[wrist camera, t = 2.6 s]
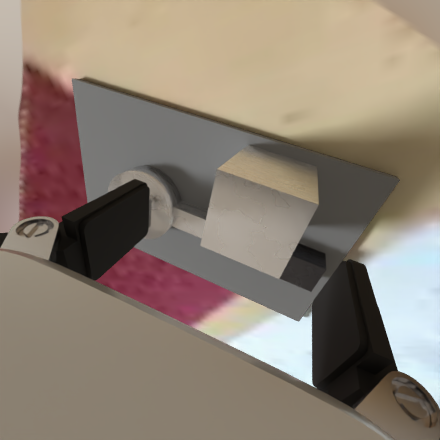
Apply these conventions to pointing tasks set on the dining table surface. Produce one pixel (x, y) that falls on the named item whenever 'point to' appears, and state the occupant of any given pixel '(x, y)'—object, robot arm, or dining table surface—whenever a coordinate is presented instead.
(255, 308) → the dining table surface
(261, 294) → the tool mat
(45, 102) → the dining table surface
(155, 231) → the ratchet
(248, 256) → the light grey block
